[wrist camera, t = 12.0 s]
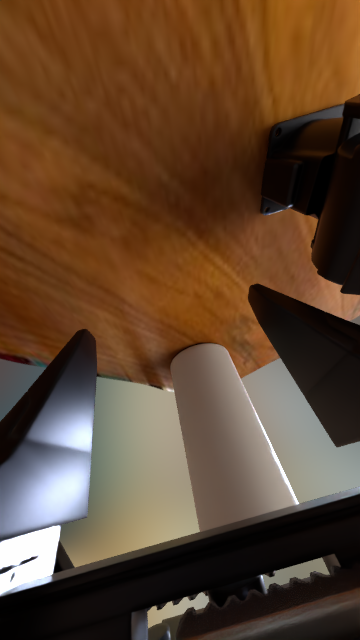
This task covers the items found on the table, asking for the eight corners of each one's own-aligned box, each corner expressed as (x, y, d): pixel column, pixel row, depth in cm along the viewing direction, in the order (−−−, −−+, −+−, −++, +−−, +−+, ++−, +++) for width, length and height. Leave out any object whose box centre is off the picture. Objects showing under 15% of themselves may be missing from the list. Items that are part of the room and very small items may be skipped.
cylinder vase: (233, 337, 34) (337, 536, 17) (220, 369, 43) (281, 521, 26) (168, 346, 32) (215, 582, 15) (170, 378, 41) (199, 549, 24)
